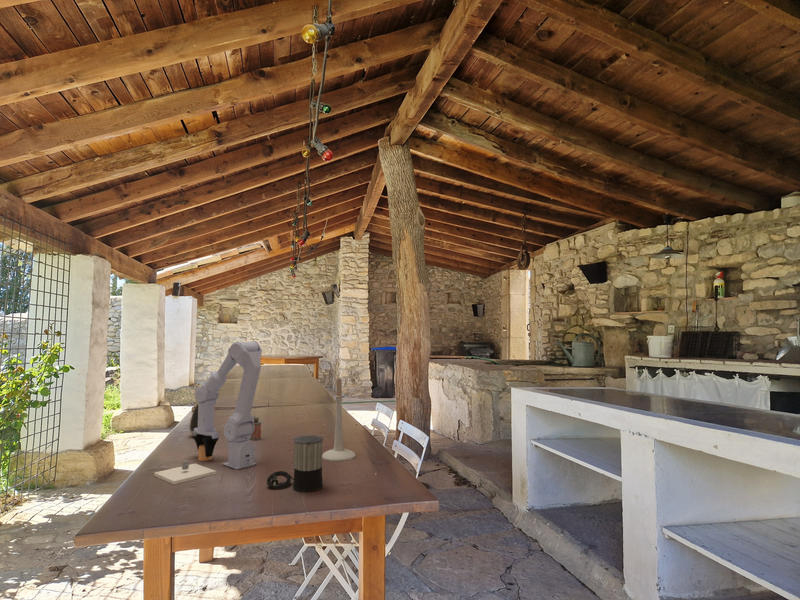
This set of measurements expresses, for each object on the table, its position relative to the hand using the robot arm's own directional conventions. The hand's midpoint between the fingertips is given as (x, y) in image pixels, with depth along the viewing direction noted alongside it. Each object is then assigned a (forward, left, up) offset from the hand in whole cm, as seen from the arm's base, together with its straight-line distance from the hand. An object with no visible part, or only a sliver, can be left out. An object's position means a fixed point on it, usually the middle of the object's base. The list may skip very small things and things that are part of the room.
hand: (205, 455), depth 178 cm
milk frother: (-51, -2, -2) cm, 51 cm away
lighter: (+14, -29, -2) cm, 32 cm away
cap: (0, 0, -1) cm, 1 cm away
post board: (-13, +14, -1) cm, 19 cm away
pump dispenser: (+37, -18, -2) cm, 41 cm away
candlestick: (-36, -34, -2) cm, 50 cm away
